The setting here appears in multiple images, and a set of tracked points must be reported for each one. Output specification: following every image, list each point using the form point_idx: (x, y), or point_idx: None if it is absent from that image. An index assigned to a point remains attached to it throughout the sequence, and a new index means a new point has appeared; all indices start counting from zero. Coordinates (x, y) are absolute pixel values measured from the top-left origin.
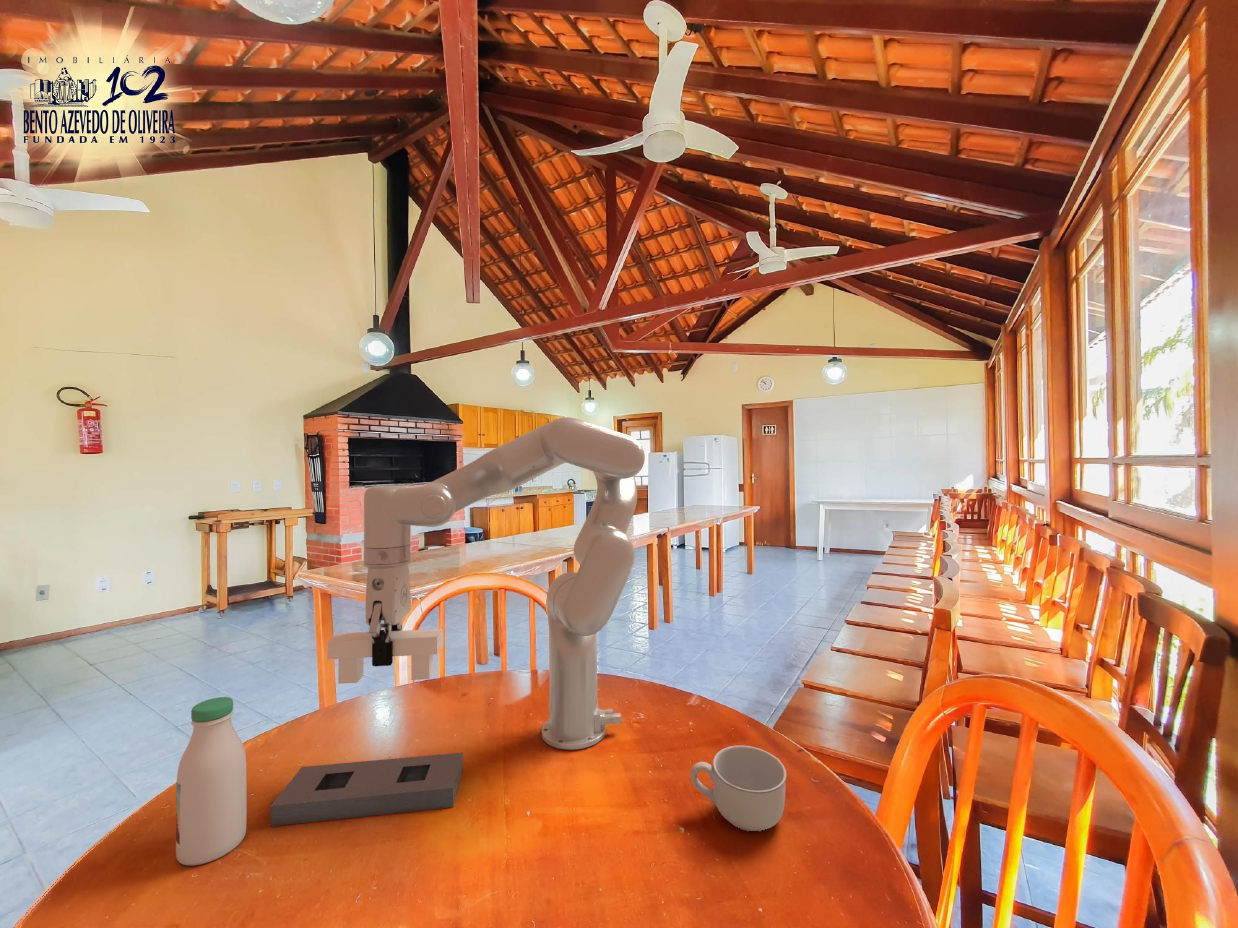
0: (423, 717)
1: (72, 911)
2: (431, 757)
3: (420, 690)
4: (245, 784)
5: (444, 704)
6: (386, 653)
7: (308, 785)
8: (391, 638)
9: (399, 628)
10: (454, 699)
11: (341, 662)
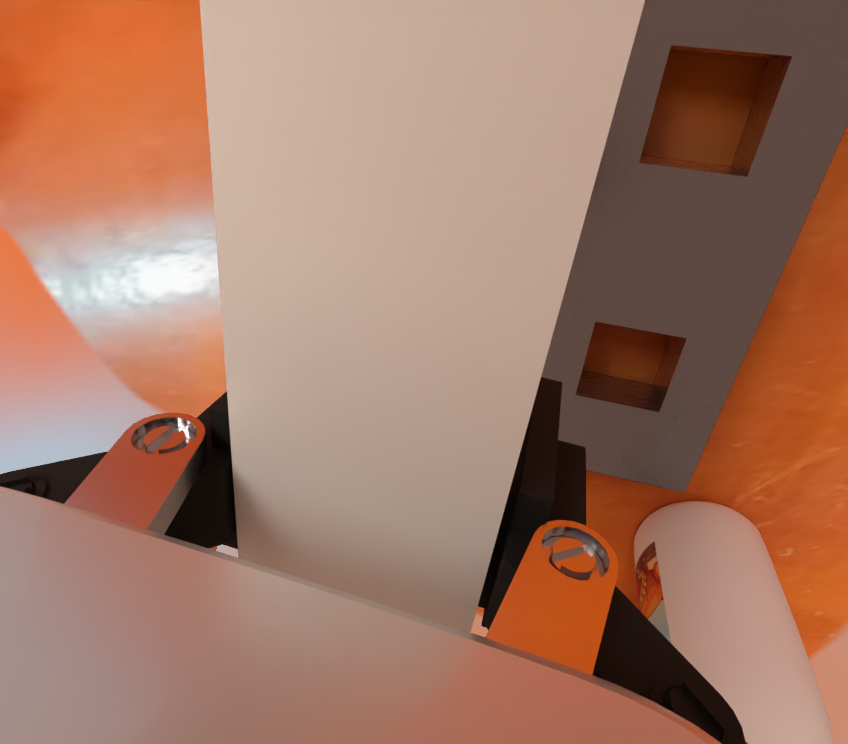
0: (201, 135)
1: None
2: None
3: (18, 169)
4: (727, 596)
5: (108, 59)
6: (558, 469)
7: (622, 427)
8: (484, 515)
9: (198, 451)
10: (67, 18)
11: None
